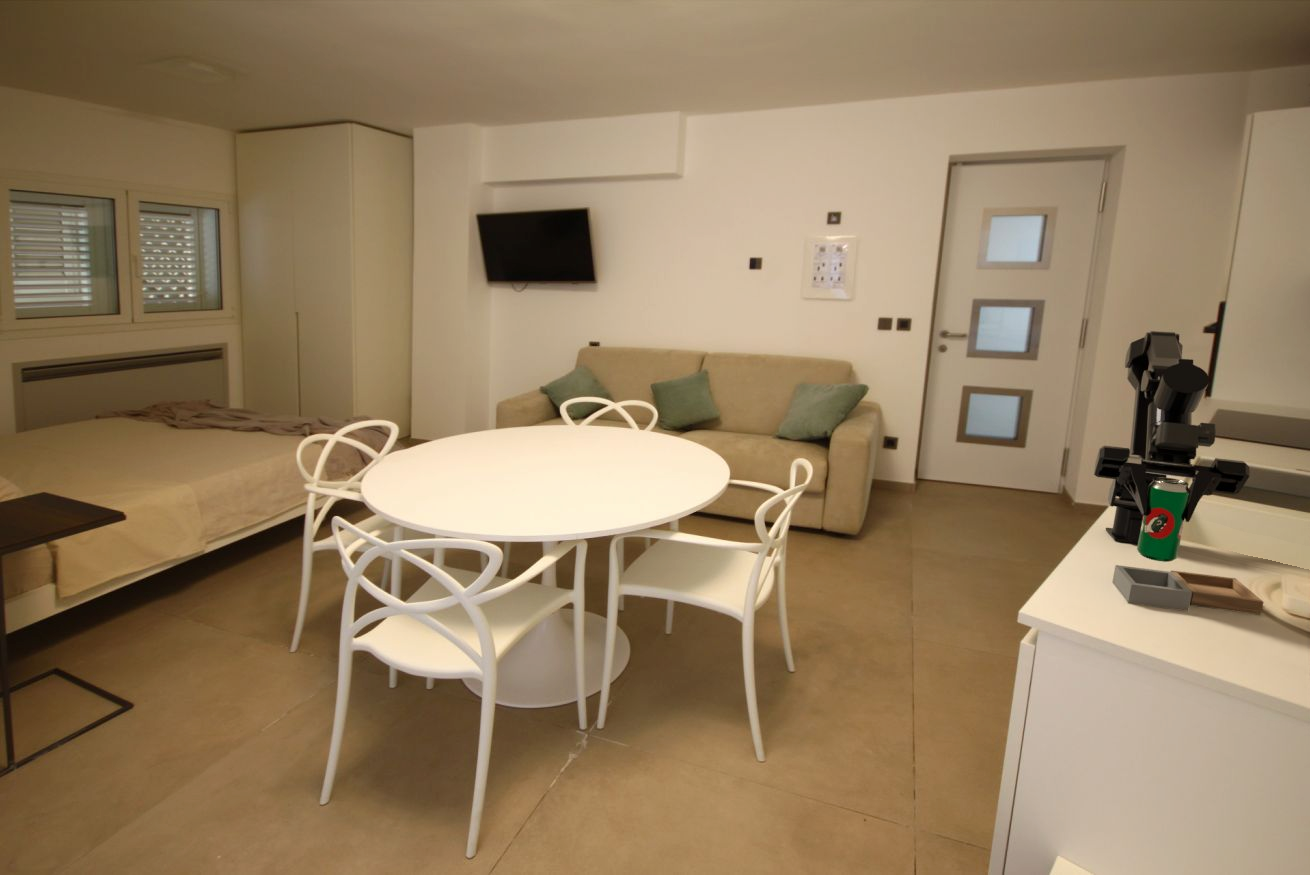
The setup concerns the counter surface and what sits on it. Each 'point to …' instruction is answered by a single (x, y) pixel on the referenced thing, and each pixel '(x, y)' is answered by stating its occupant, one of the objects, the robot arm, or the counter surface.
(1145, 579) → the box
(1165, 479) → the soda can
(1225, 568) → the counter surface
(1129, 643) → the counter surface
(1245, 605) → the walnut tray
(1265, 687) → the counter surface
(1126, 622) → the counter surface
